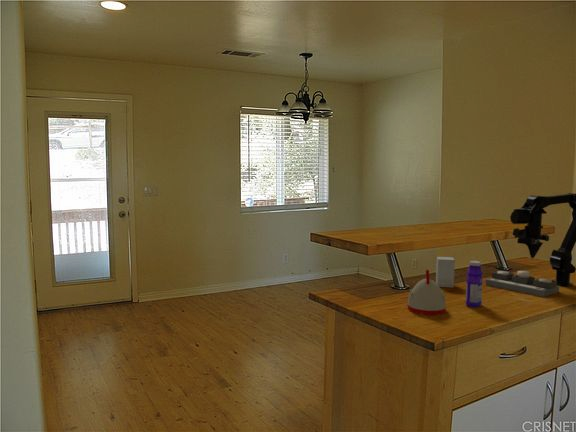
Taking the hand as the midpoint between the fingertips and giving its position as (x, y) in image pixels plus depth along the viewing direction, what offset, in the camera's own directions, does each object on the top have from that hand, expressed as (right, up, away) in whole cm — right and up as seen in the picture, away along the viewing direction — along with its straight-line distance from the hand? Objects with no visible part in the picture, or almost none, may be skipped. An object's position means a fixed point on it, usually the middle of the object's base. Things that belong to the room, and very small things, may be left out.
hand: (532, 257), depth 221 cm
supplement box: (-39, -13, +2) cm, 41 cm away
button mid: (-6, -8, -3) cm, 11 cm away
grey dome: (-58, -17, -36) cm, 70 cm away
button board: (-7, -13, -3) cm, 15 cm away
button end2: (0, -11, -10) cm, 15 cm away
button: (-11, -9, +5) cm, 16 cm away
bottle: (-38, -16, -30) cm, 51 cm away
